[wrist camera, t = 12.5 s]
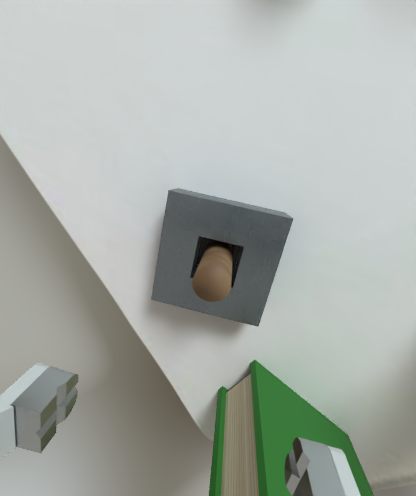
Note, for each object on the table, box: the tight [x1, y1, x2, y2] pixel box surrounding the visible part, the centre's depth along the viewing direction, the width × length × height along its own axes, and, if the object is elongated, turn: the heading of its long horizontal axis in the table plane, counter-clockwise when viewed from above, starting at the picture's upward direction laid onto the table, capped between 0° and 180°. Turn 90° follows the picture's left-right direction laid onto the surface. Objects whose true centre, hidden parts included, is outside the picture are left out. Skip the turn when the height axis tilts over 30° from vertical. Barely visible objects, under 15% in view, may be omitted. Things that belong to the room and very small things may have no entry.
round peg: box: [192, 240, 233, 302], centre depth 24 cm, size 3×3×9 cm
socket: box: [152, 188, 293, 326], centre depth 26 cm, size 12×12×4 cm
